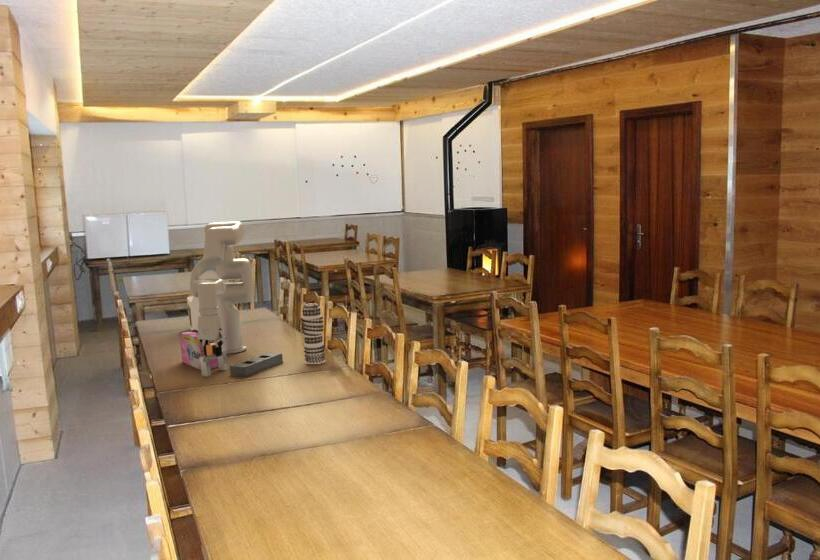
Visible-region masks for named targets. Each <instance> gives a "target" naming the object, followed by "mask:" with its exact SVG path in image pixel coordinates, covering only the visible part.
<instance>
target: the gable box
mask: <svg viewBox="0 0 820 560" xmlns="http://www.w3.org/2000/svg"><path fill="white" fill-rule="evenodd" d="M199 279H201V277H200V278H199ZM186 302H187V303H186V304H187V312H188V313H187V314H188V322H189V329H190V332H192V330H198V317H199V315H200V312H199V311H198V310H199V300H198V298H196V297H193V296H192V295H191V293H190V292H189V294H188V296H187V297H186Z"/></svg>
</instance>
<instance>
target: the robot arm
mask: <svg viewBox="0 0 820 560" xmlns="http://www.w3.org/2000/svg"><path fill="white" fill-rule="evenodd" d="M245 231H246V230H245V226H244V224H243V222H241V221H235V220H234V221H219V222H218V221H217V222H210V223H207V224H206V225H205V226H204V234H205V235H204V244H203V257H202V258H201V259H200V260H199V261H198V262H197V263H196V264H195V265H194V267H193V268H192V270H191V273H190V279H189V281H190V282H189V294H190V293H191V295H192V296H193V297H196V298H198V300H199V310H198V311H199V312H200V315H199V317H198V335H197V338H198V339H199V340H200V342H201V343H202V346H204V355H207V351H206V345H208V344H209V340H213V341H214V342H215V345H216V347H215V354H216V357H218V356H221V355H222V350H227V355H228V354H238V353H241V352H245V351H246V350H247V346H246V345H244V344H243V333H242V330H243V329H242V323H241V322H242V321H241V313H240V310H239V309H238V307H237V306H236V305H235V304H245V303H251V302H253V300H254V297H255V288H254V277H253V276H254V275H253V269H252V268H253V266H252V263H251V261H250V260H249V259H248V258H245V257H244V258H243V257H242V258H235V253H234V247H233V246H237V245H239V244H240V243H241V241H243V239H244V238H245V237H244V236H245ZM214 268H215V271H216V276H217V278H203V279H201V277H202V275H203V274H204V273H207V271H210V270H212V269H214ZM199 278H200V279H199ZM233 280H234V281H235V280H236V281H237V280H241V281H240V282H225V281H233Z"/></svg>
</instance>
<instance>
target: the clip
mask: <svg viewBox="0 0 820 560" xmlns="http://www.w3.org/2000/svg"><path fill="white" fill-rule="evenodd" d="M215 347H216V345H215V343H211V344H208V345H206V351H207V355H205V356H203V357H200V358H199V360H200V363H201V370H200V371H201V377H211V376H212V372H211V371H212V370H211V369H210V360H213V359H216V358H218V366H219V367H218V371H227V370H228V359H227V355H228V354H227V350H222V355H221V356H218V357H216V354H215Z"/></svg>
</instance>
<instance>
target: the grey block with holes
mask: <svg viewBox="0 0 820 560" xmlns="http://www.w3.org/2000/svg"><path fill="white" fill-rule="evenodd" d="M283 360H284V359H283V353H282V352H268V351H266V352H264V353H260V354H258V355H256V356H253V357H251V358H248V359H245V360H242V361H240V362H237V363H235V364H231V365H229V373H230V376H231V377H242V378H247V377H250V376H253V375H255V374H257V373H259V372H263V371H265V370H268V369H271V368H272V366H273V367H276V366H277V365H279V364H283V362H284V361H283ZM267 368H268V369H267ZM262 370H263V371H262Z"/></svg>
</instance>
